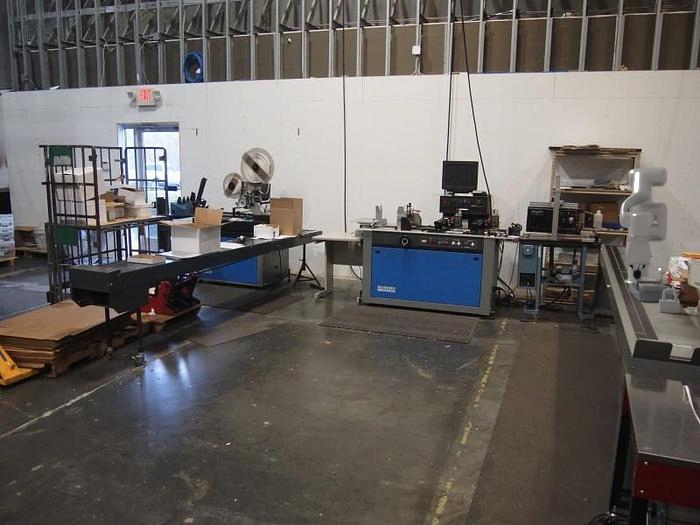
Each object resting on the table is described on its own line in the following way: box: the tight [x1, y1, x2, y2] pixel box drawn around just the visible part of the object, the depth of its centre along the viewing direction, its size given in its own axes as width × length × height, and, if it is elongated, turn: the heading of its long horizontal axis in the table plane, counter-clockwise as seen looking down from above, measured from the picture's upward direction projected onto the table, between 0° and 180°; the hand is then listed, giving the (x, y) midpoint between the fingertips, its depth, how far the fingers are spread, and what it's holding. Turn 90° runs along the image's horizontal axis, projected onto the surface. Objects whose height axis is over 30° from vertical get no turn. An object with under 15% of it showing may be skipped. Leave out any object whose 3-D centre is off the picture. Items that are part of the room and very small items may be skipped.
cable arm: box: [642, 267, 667, 285], centre depth 255 cm, size 27×3×10 cm, turn 134°
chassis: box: [628, 278, 673, 303], centre depth 252 cm, size 26×13×7 cm, turn 162°
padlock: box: [658, 287, 681, 314], centre depth 222 cm, size 7×4×10 cm, turn 64°
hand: (636, 278), depth 251 cm, fingers closed
